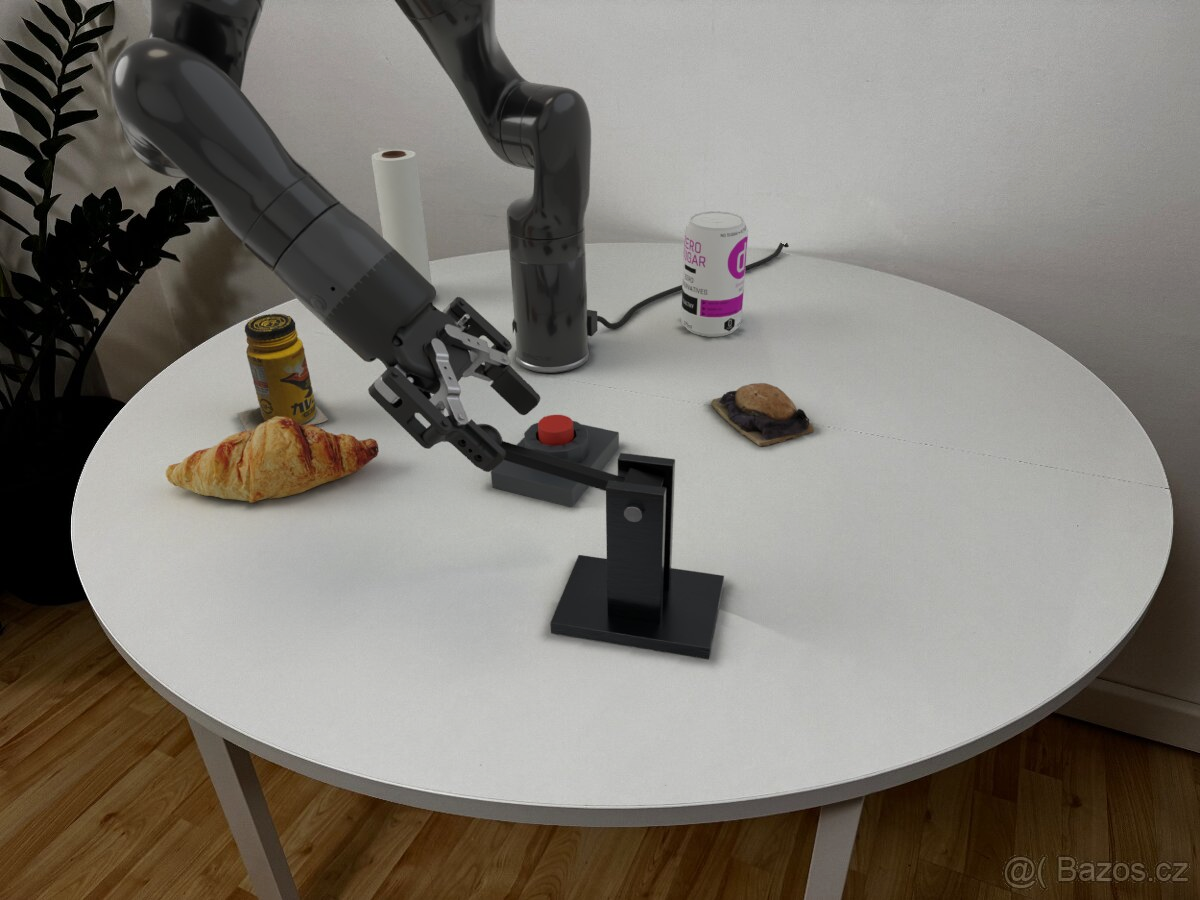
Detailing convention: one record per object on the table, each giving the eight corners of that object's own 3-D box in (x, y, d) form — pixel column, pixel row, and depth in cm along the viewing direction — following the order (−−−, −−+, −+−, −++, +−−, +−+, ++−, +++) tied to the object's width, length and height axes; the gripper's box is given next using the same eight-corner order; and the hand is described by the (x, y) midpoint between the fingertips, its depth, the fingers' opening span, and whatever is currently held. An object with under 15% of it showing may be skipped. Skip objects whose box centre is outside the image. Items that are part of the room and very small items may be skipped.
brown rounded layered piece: (705, 406, 105) (706, 378, 103) (766, 391, 107) (768, 363, 106) (755, 449, 96) (757, 420, 94) (820, 431, 99) (823, 402, 97)
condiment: (328, 421, 103) (309, 325, 96) (254, 443, 99) (228, 344, 93) (308, 396, 108) (288, 303, 102) (237, 416, 104) (211, 321, 98)
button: (548, 426, 94) (547, 411, 93) (579, 432, 93) (579, 418, 92) (532, 442, 91) (531, 428, 90) (564, 449, 90) (563, 435, 89)
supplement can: (750, 321, 124) (759, 215, 116) (724, 343, 119) (731, 233, 111) (698, 309, 128) (703, 206, 120) (670, 330, 122) (674, 223, 114)
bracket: (550, 633, 73) (542, 495, 66) (578, 564, 80) (574, 433, 73) (709, 659, 70) (719, 518, 63) (723, 585, 78) (733, 451, 70)
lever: (453, 465, 70) (457, 432, 68) (468, 444, 72) (472, 411, 71) (650, 525, 68) (659, 492, 67) (657, 501, 71) (666, 469, 69)
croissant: (175, 533, 91) (145, 497, 84) (178, 449, 96) (150, 408, 89) (387, 503, 94) (375, 466, 87) (380, 422, 99) (368, 381, 92)
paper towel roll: (430, 308, 130) (411, 158, 119) (388, 308, 130) (366, 159, 119) (438, 289, 136) (421, 145, 125) (398, 289, 136) (378, 145, 125)
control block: (545, 431, 100) (543, 400, 98) (619, 447, 97) (619, 415, 95) (492, 487, 91) (488, 454, 89) (572, 507, 88) (570, 473, 86)
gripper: (336, 288, 57) (518, 458, 61) (424, 219, 69) (572, 365, 73) (279, 355, 61) (453, 511, 65) (372, 279, 73) (515, 415, 77)
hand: (516, 434), depth 69 cm, fingers open, 8 cm apart
